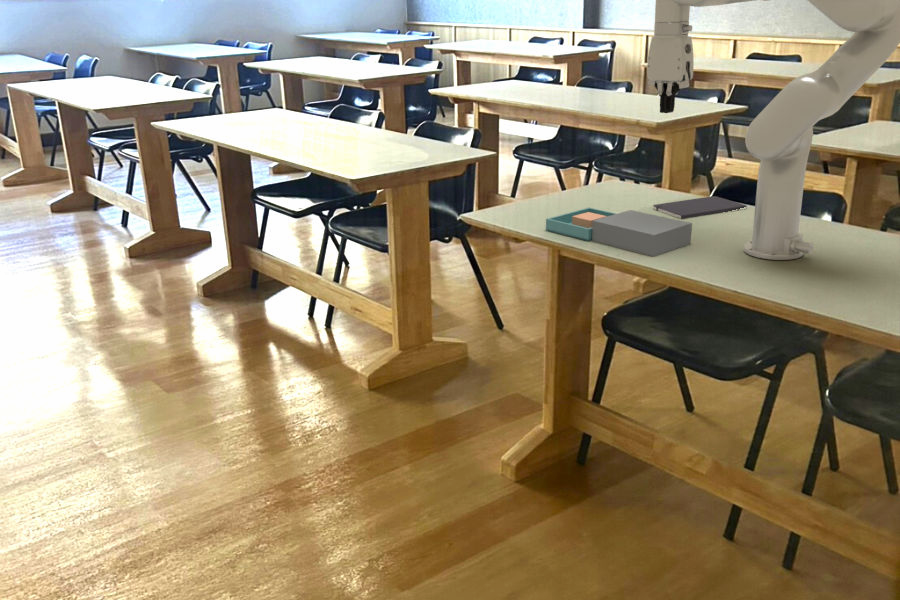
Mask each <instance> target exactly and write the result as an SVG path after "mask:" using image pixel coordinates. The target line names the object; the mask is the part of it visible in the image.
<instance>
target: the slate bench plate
mask: <svg viewBox="0 0 900 600" xmlns="http://www.w3.org/2000/svg"><path fill="white" fill-rule="evenodd" d="M692 228H693V223H692V222H688V221H684V220H681V219H680V220H679V219H675V218H669V217H665V216H660V215H655V214H650V213H648V212H647V213H646V212H641V211H636V210H632V209H629V210H626V211H623V212H622V211H621V212H619V213H616V214H614V215H611V216H607V217H604V218H600V219H597V220H593V223H592V241H591V242H595V243H598V244H603V245H606V246H611V247H613V248H618V249H622V250H626V251H631V252H634V253H638V254H642V255H645V256H648V257H649V256H650V257H656V256H658V255H662V254H665V253H667V252H668V253H669V252H671V251H673V250H677V249H680V248H682V247H686V246H689V245H691V243H692Z"/></svg>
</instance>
